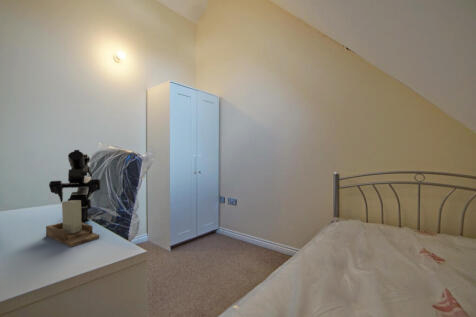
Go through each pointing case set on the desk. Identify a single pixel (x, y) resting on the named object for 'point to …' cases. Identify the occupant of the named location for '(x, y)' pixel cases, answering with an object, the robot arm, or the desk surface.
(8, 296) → the desk surface
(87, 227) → the tray
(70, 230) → the box
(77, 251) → the desk surface
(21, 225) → the desk surface
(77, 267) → the desk surface
